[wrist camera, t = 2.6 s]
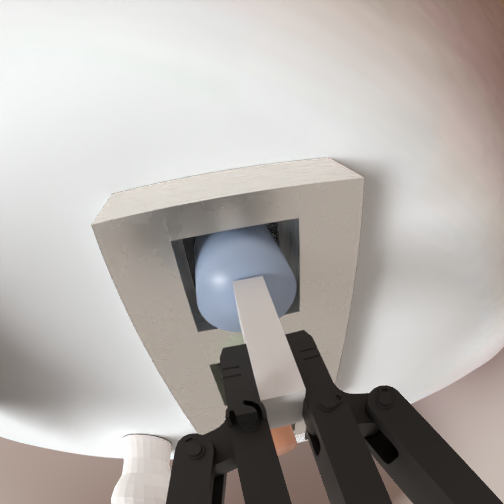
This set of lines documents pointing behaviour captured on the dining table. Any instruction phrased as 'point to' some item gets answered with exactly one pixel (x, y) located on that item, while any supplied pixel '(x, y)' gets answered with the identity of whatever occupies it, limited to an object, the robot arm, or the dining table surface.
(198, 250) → the button slate
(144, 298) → the panel
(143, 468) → the cup
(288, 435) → the button terracotta
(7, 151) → the dining table surface
